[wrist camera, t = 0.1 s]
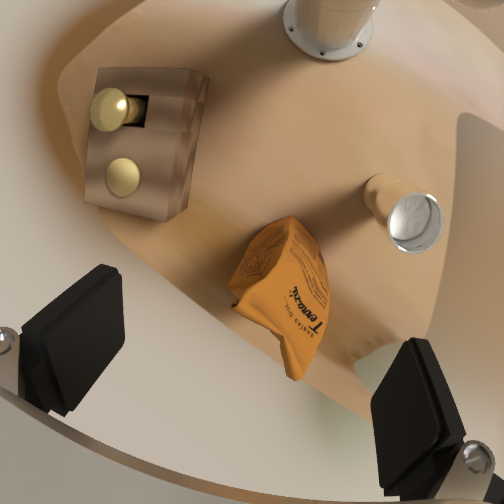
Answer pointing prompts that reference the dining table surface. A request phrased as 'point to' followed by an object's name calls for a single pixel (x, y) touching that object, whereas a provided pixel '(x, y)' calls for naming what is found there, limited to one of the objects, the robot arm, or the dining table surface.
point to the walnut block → (147, 143)
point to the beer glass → (404, 213)
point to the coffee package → (285, 290)
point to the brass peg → (116, 110)
